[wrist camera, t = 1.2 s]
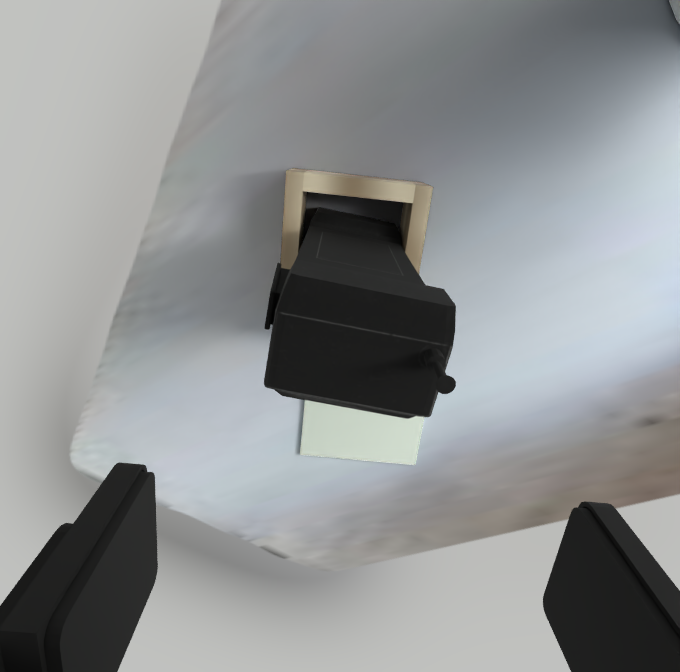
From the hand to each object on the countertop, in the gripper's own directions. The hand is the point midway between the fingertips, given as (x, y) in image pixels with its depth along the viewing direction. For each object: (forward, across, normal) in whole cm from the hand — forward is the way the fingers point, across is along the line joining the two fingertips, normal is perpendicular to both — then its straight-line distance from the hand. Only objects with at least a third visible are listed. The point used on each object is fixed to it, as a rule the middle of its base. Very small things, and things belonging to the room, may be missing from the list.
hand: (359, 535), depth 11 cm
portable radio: (+31, 0, 0) cm, 31 cm away
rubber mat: (+31, -3, +14) cm, 34 cm away
